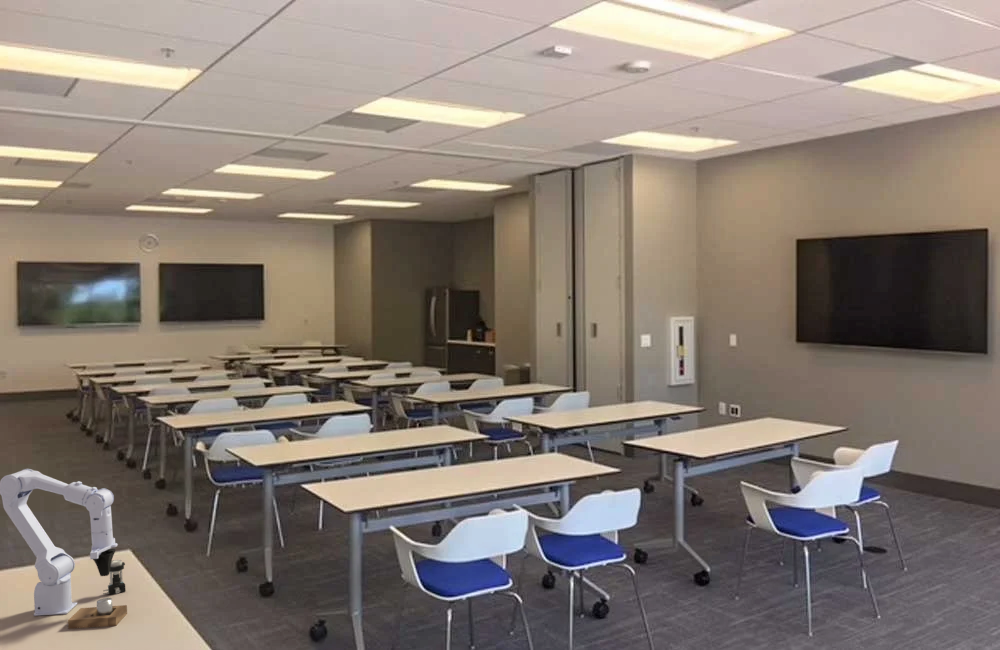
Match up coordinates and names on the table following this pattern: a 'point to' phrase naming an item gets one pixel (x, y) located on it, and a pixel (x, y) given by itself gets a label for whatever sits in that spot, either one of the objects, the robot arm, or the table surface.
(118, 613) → the jig
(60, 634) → the table surface
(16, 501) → the robot arm
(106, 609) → the brushed metal cylinder
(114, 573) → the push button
